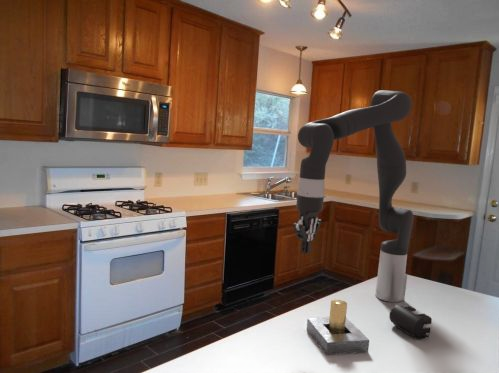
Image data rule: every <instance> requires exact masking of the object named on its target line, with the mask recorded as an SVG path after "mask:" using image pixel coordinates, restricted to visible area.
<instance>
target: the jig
mask: <svg viewBox="0 0 499 373" xmlns="http://www.w3.org/2000/svg"><path fill="white" fill-rule="evenodd" d="M329 318H330V316H329V317H328V316H327V317H326V316H324V317H307V320H306V321H307V323H306V331H307V332H308V333H309V335H310V336H311V337H312V338H313V340H314V341H315V342H316V344H317V345H318V346H319V347H320V349H321V350H322V351H323V353H324V354H325V355H326V356H332V355H333V356H334V355H347V354H348V355H350V354H363V353H369V347H370V346H369V345H370V339H369V338H368V337H367V336H366V335H365V334H364V333H363V332H362V331H361V330H360V329H359V328H358V327H356V325H354V323H353V322H352V321H350V319H349V318H347V317H346V321H345V331H344V334H331V333H330V332H329V331H328V328H329Z"/></svg>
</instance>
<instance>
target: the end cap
mask: <svg viewBox="0 0 499 373" xmlns="http://www.w3.org/2000/svg"><path fill="white" fill-rule="evenodd" d="M416 311H417V309H416V308H415V307H413V306H410V305H408V306H402V305H400V304H395V305H394V306H393V307H392V308H391V309H390V312H389V315H388V316H389V317H388V318H389V321H391V323H393V325H394V326H396V327H397V328H399V329H400V330H402V331H404V332H406V333H407V334H409V335H410V336H412V338H415V339H416V340H422V339H429V334H430V333H431V327H425V326H426V325H431V324H432V317H431V316H429V315H427V314H426V313H415V312H416Z"/></svg>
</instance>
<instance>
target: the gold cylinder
mask: <svg viewBox="0 0 499 373" xmlns="http://www.w3.org/2000/svg"><path fill="white" fill-rule="evenodd" d="M347 309H348V303H347V302H346V301H345V300H341V299H333V300H332V299H331V300H330V308H329V317H330V318H329V328H328V331H329V332H330V333H331V334H344V331H345V321H346V318H347Z"/></svg>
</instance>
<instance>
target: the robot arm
mask: <svg viewBox="0 0 499 373" xmlns="http://www.w3.org/2000/svg"><path fill="white" fill-rule="evenodd" d="M411 109H412V99H411V97H410V95H409V94H408V93H406V92H403V91H398V90H383V89H382V90H377V91H376V92H374V94H373V95H372V97H371V100H370V106H367V107H359V108H355V109H349V110H346V111H342V112H341V113H338V114H335V115H333V116H331V117H328V118H323V119H317V120H314V121H311V122H308V123H305V124H303V126H301V128H300V129H299V131H298V133H297V140H298V143H299V144H300V145H301V146H302V147H303V148H306V149H311V150H310V153H309V155H308V156H306V157H303V158H302V159H301V162H300V170H299V179H298V184H297V193H296V194H297V196H296V206H295V207H296V210H297V211H299V214H298V221H297V223H296V222H294V223H293V225H292V226H293V229H294V231H295V235H296V237H297V239H298V240H301V245H300V246H301V248H300V253H301V254H305V255H308V254H310V252H311V246H312V245H311V244H312V241H313V239H315V238H316V237H317V234H318V232H319V229H320V227H321V224H322V222H323V221H322V219H319V213H321V212H322V211H323V209H324V208H323V207H324V198H325V188H326V186H325V177H326V167H327V163H328V161H329V158H330V155H331V152H332V149H333V146H334V142H335V141H338V140H341V139H344V138H348V137H349V136H351V135H354V134H356V133H359V132H361V131H364V130H368V129H370V128H373V133H374V140H375V152H376V170H377V171H376V172H377V177H378V178H377V180H378V191H379V193H378V196H379V197H378V198H379V200H378V203H379V205H378V224H379V227H380V229H381V230H382V231H384V232H388V233H391V234H396V235H397V238H395V239H391V240H385V241H382V242H381V244H380V251H379V252H380V253H379V261H378V270H377V278H376V287H375V297H376V298H377V299H379V300H382V301H385V302H390V303H400V302H401V301H405V300H406V299H405V297H406V289H407V282H408V281H407V280H408V274H407V273H406V269H407V268H406V267H407V259H408V253H409V247H410V242H411V235H412V230H413V223H414V213H413V211H412V210H411V209H407V208H402V207H396V206H393V205H392V204H393V203H392V202H393V198H394V195H395V193H396V191H397V190H398V189H399V188H400V187H401V185H402V184H403V182H404V181H405V178H406V176H407V159H406V154H405V152H404V149H403V148H402V145H401V144H400V143H399V140H398V138H397V137H396V135H395V133H394V131H393V127H392V125H393V124H392V123H396V122H400V121H403V120H405V119H406V118H407V117H408V116H409V114H410V113H411Z"/></svg>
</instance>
